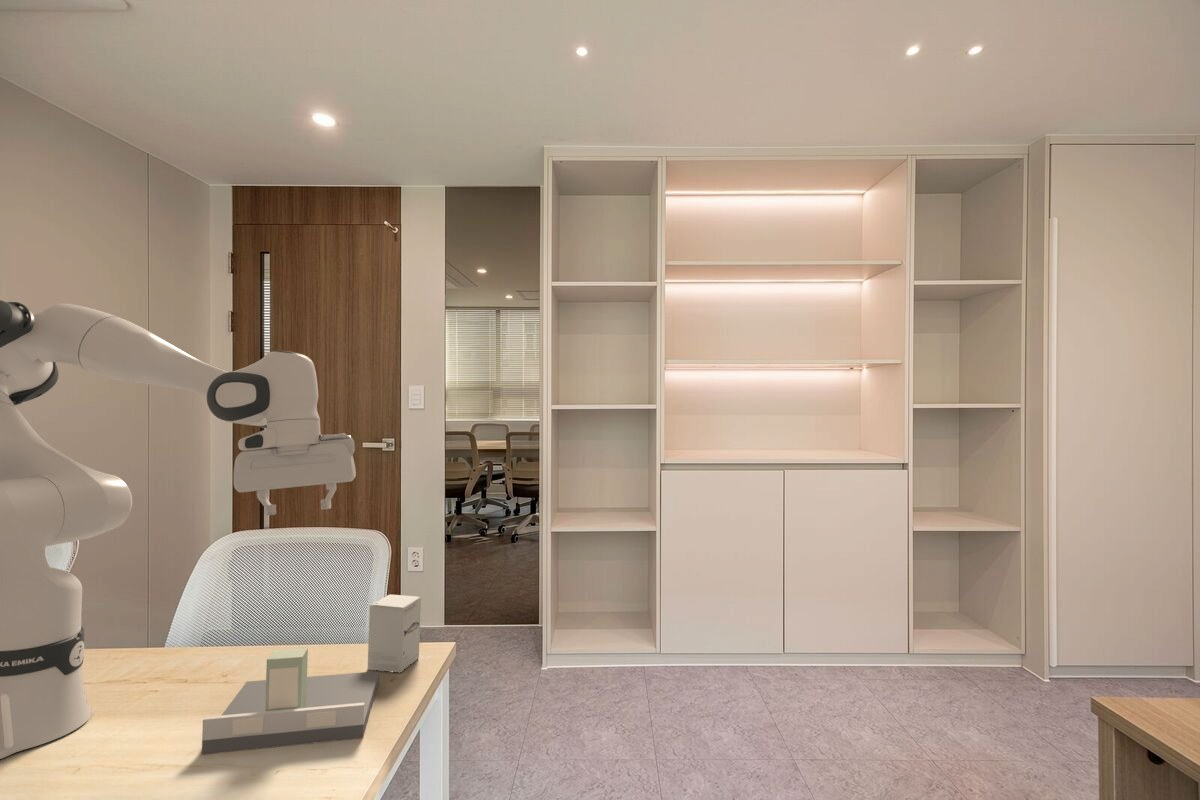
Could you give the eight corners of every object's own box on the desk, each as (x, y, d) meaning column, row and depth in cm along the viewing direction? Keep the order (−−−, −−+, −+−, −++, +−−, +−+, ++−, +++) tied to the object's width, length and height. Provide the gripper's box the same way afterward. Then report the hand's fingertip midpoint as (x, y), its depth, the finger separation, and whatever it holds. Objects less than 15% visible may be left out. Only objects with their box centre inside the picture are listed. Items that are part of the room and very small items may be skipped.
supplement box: (401, 674, 113) (402, 607, 114) (366, 670, 115) (368, 604, 115) (420, 658, 121) (422, 596, 121) (387, 654, 122) (388, 593, 122)
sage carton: (264, 726, 90) (266, 660, 91) (271, 713, 94) (273, 650, 94) (300, 722, 92) (302, 657, 92) (306, 710, 95) (307, 648, 95)
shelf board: (200, 755, 86) (201, 720, 86) (246, 692, 105) (247, 664, 105) (362, 738, 91) (363, 705, 91) (378, 681, 110) (379, 654, 110)
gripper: (357, 433, 116) (361, 504, 115) (241, 442, 112) (244, 516, 110) (350, 431, 110) (355, 506, 109) (228, 441, 105) (231, 520, 104)
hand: (298, 511), depth 110 cm, fingers open, 8 cm apart
